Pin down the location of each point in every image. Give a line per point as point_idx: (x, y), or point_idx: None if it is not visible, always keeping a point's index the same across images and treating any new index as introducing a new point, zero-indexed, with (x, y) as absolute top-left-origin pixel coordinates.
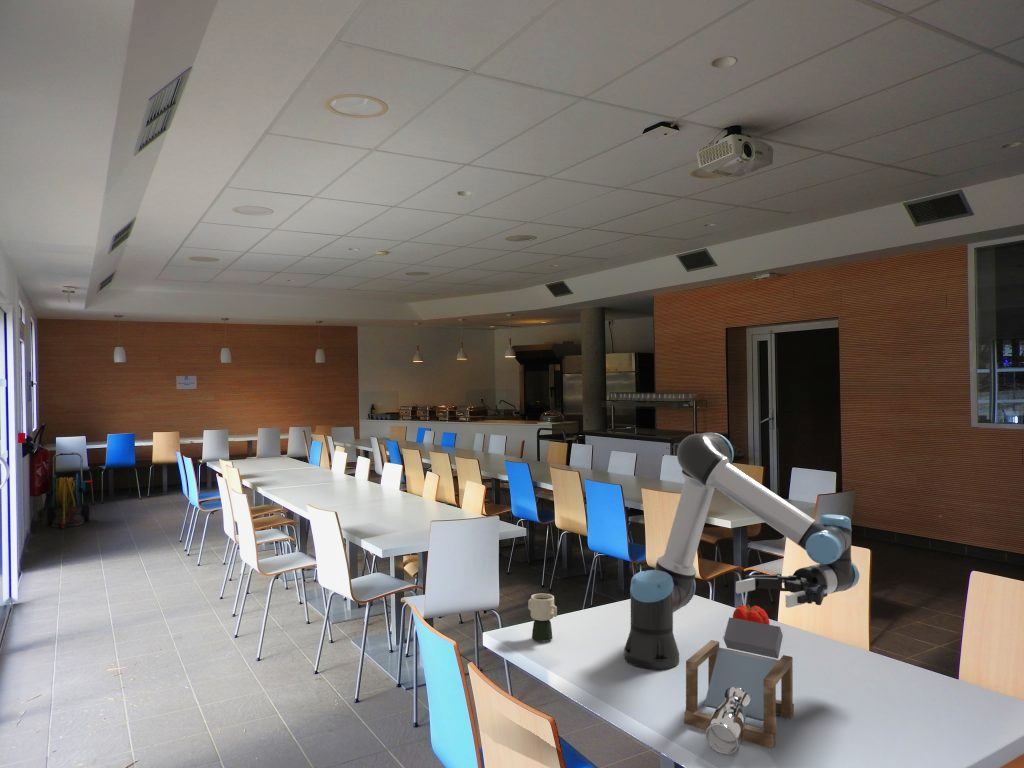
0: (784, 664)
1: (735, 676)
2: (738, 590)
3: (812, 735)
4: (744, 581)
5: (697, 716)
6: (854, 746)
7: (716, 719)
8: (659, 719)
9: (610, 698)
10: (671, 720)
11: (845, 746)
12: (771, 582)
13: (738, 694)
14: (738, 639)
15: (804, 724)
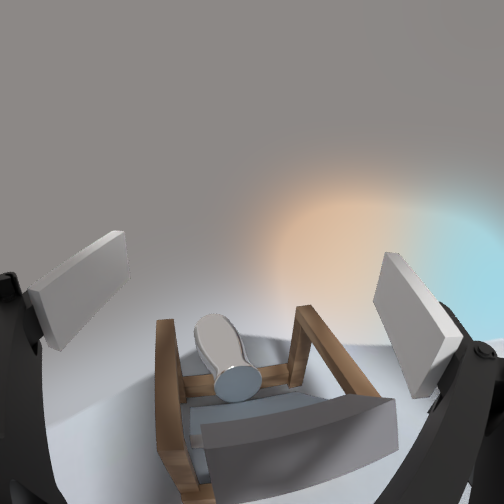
0: (159, 393)
1: (275, 409)
2: (377, 289)
3: (132, 452)
4: (401, 276)
5: (277, 365)
6: (75, 448)
7: (221, 317)
8: (320, 360)
9: (394, 353)
10: (310, 367)
11: (85, 442)
12: (402, 481)
13: (226, 359)
14: (315, 405)
15: (154, 481)
